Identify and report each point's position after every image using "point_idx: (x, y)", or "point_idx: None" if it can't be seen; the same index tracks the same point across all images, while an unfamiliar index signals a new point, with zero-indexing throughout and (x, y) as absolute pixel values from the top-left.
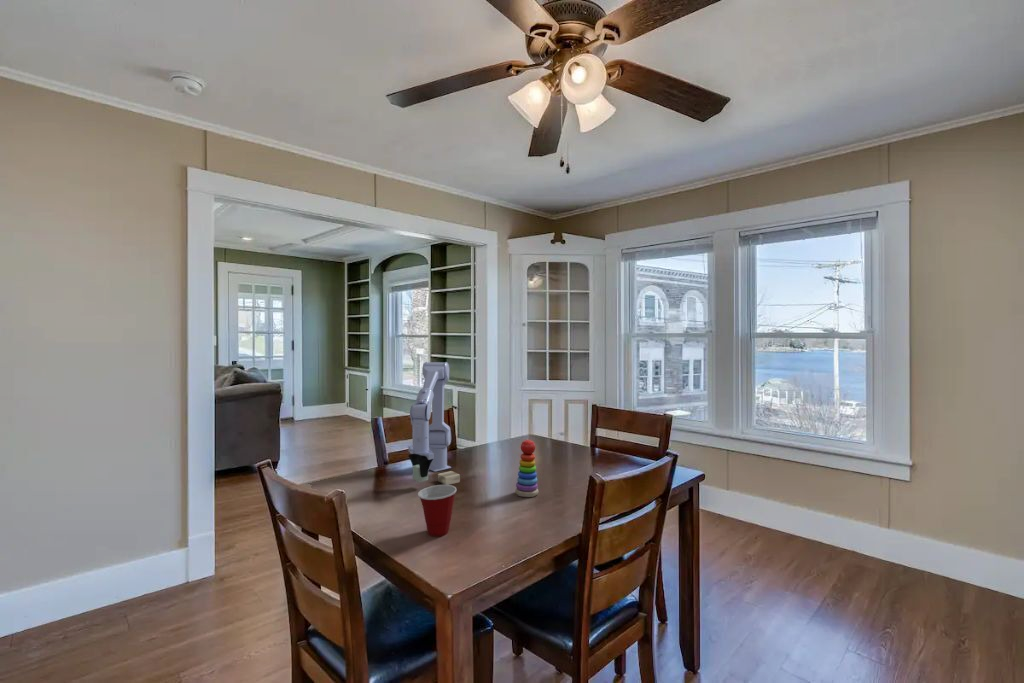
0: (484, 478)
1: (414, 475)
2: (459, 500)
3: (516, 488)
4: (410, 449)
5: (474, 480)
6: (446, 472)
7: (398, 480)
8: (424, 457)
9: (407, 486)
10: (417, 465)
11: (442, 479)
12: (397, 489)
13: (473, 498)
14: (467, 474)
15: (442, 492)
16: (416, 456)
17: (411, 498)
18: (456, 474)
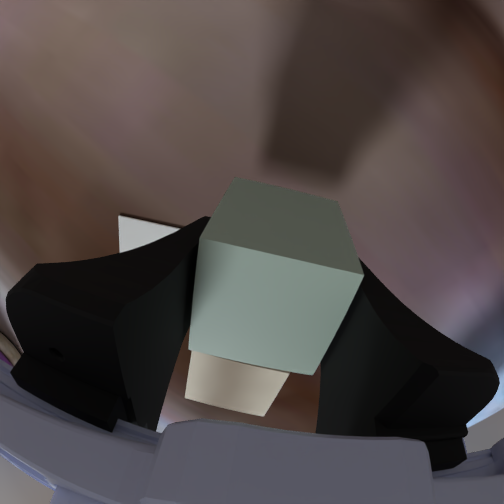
0: (164, 412)
1: (309, 210)
2: (10, 207)
3: (4, 351)
4: (495, 483)
5: (168, 394)
6: (266, 399)
7: (493, 237)
8: (39, 375)
9: (387, 183)
10: (312, 311)
11: None
12: (401, 99)
13: (9, 254)
14: (245, 423)
15: None
16: (358, 420)
17: (167, 37)
18: (199, 396)
